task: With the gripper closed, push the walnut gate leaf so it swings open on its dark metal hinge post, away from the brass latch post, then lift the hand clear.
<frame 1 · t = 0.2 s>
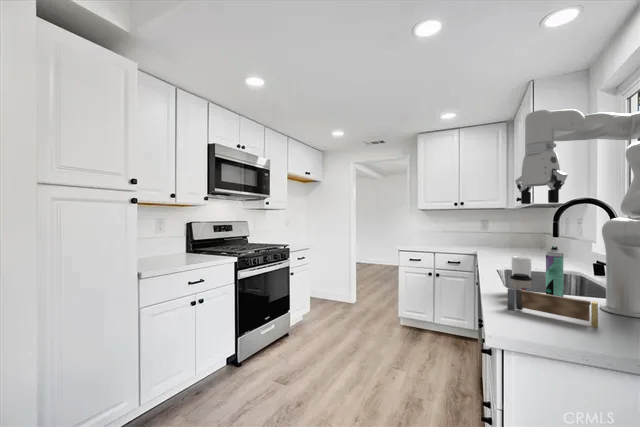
hand: (538, 203, 96), 36 cm above the worktop, tool pointing down, fingers open, 9 cm apart
spray can: (554, 297, 119), on the worktop
hinge post: (511, 308, 104), on the worktop
gate leaf: (550, 305, 95), point 4 cm above the worktop, hinge at 0.0°
coffee cup: (520, 301, 113), on the worktop
latch post: (594, 326, 88), on the worktop
white cylinder: (521, 294, 123), on the worktop
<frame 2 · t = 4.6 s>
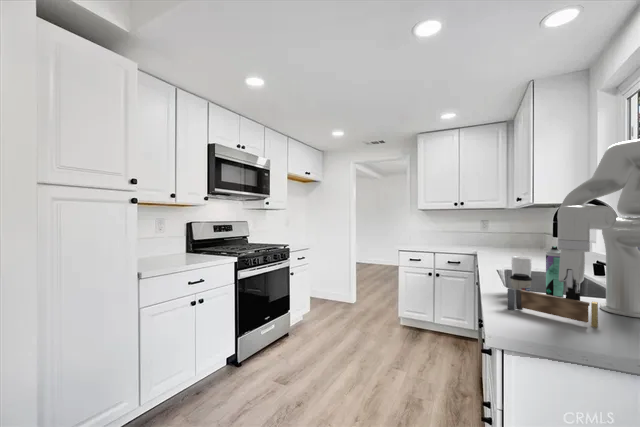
hand: (572, 305, 92), 5 cm above the worktop, tool pointing down, fingers closed
gate leaf: (549, 305, 95), point 4 cm above the worktop, hinge at 6.0°, touching gripper
everything else where it was.
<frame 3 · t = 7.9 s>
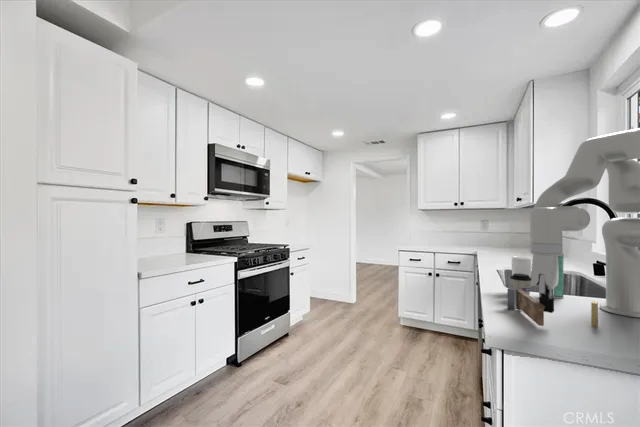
hand: (546, 311, 88), 4 cm above the worktop, tool pointing down, fingers closed
gate leaf: (528, 307, 94), point 4 cm above the worktop, hinge at 58.2°, touching gripper
everything else where it was.
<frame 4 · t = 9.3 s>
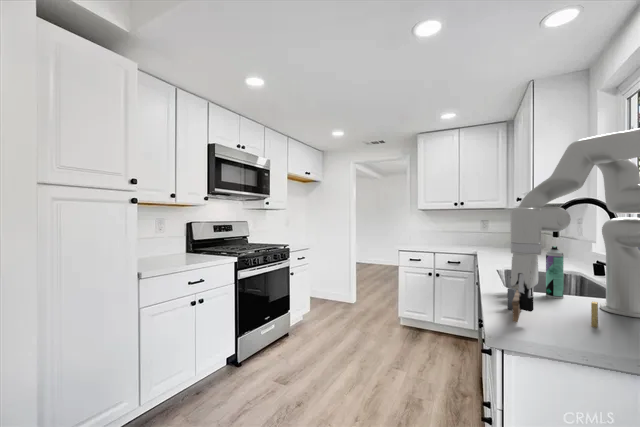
hand: (526, 309, 89), 4 cm above the worktop, tool pointing down, fingers closed
gate leaf: (517, 305, 95), point 4 cm above the worktop, hinge at 78.4°, touching gripper
everything else where it was.
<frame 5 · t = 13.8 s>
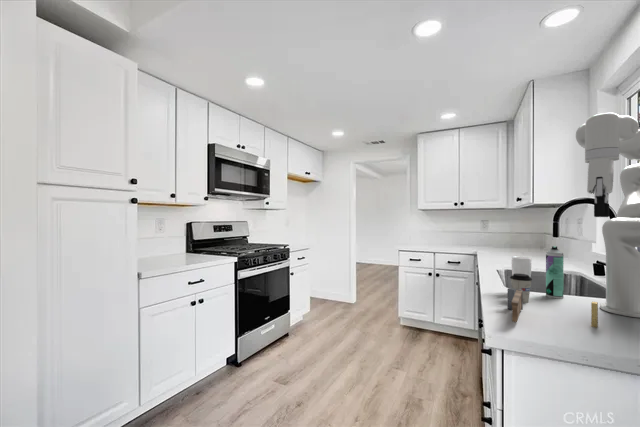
hand: (601, 216, 90), 32 cm above the worktop, tool pointing down, fingers closed
gate leaf: (517, 305, 95), point 4 cm above the worktop, hinge at 78.8°
everything else where it was.
at the end: gate leaf at +79° (first picture: +0°); coffee cup moved 0.2 cm from its start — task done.
